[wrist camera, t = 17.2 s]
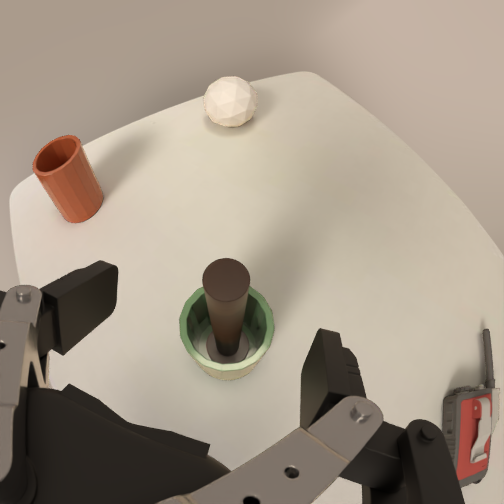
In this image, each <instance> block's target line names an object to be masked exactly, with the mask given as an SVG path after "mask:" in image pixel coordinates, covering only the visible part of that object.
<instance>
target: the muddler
mask: <svg viewBox="0 0 504 504" xmlns="http://www.w3.org/2000/svg"><path fill="white" fill-rule="evenodd" d="M202 282H203V288H204V292H205V297H206V302H207V307H208V312H209V316H210V321H211V325H212V330H213V331H212V332H211V333H210V334H209V336H208V338H207V341H206V349H207V353H208V355H209V357H210V359H211V360H212V361H215V362H218V363H221V364H227V363H238V362H241V361H242V360H244V359H245V358H246V356H247V354H248V351H249V340H248V338H247V336H246V334H245V333H244V332H243V331H242V326H243V320H244V314H245V309H246V303H247V297H248V291H249V285H250V276H249V273H248V270H247V269H246V267H245V266H244V265H243V264H242V263H240V262H239V261H237V260H234V259H230V258H223V259H218V260H216V261H214V262H212V263H211V264H210V265H209V266H208V267H207V268H206V269H205V271H204V274H203V279H202Z"/></svg>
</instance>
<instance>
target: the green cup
mask: <svg viewBox="0 0 504 504" xmlns="http://www.w3.org/2000/svg"><path fill="white" fill-rule="evenodd" d="M179 324H180V336H181V339H182V341H183V343H184V346H185V348H186V350H187V352H188V353H189V354H190V356H191V357H192V358H193V359H194V360H195V362H196V363H197V364H198V365H199V366H200V368H201V369H203V370H204V371H205V372H206V373H207V374H209V375H210V376H212V377H214V378H217V379H221V380H235V379H239V378H241V377H244V376H245V375H247V374H249V373H250V372H251V371H252V370H253V368H254V367H255V366H256V365H257V364H258V362H259V361H260V359H261V358H262V357H263V355H264V354H265V353H266V351H267V350H268V348H269V347H270V344H271V341H272V337H273V333H274V328H275V327H274V321H273V314H272V310H271V309H270V307H269V305H268V304H267V302H266V300H265V299H264V297H263V296H262V295H261V294H260V293H258V292H257V291H256V290H254V289H253V288H252V287H250V286H249V291H248V297H247V303H246V309H245V314H244V320H243V326H242V331H243V332H244V333H245V334H246V336H247V338H248V340H249V351H248V354H247V356H246V358H245V359H244V360H242V361H241V362H238V363H227V364H221V363H218V362H215V361H212V360H211V359H210V357H209V355H208V353H207V349H206V341H207V338H208V336H209V334H210V333H211V332H212V331H213V330H212V325H211V321H210V316H209V312H208V307H207V302H206V297H205V292H204V288H203V287H201V288H199V289H197V290H196V291H195V292H194V294H193V295H192V296H191V297H190V298H189V299H188V300H187V301H186V302H185V305H184V307H183V310H182V313H181V315H180V319H179Z"/></svg>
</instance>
